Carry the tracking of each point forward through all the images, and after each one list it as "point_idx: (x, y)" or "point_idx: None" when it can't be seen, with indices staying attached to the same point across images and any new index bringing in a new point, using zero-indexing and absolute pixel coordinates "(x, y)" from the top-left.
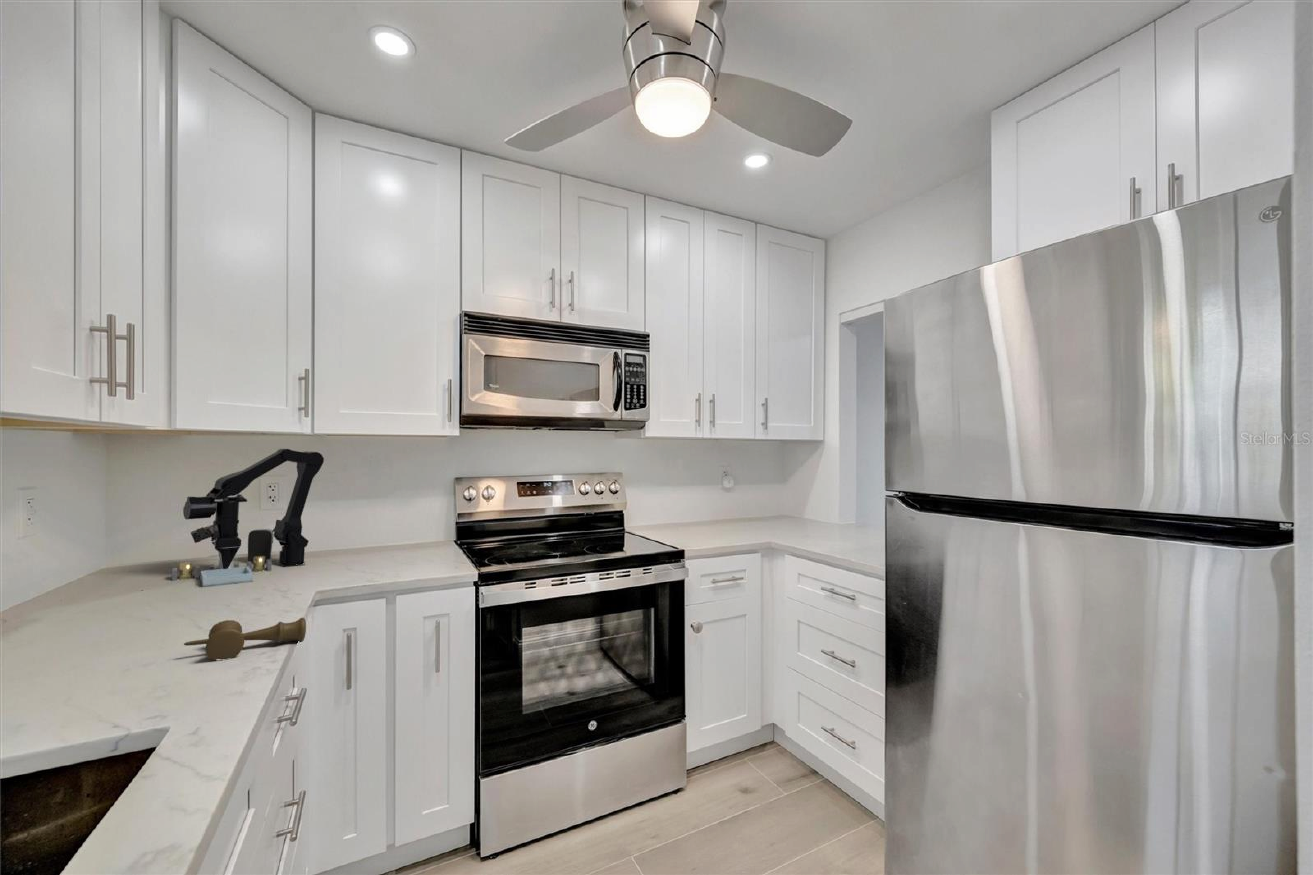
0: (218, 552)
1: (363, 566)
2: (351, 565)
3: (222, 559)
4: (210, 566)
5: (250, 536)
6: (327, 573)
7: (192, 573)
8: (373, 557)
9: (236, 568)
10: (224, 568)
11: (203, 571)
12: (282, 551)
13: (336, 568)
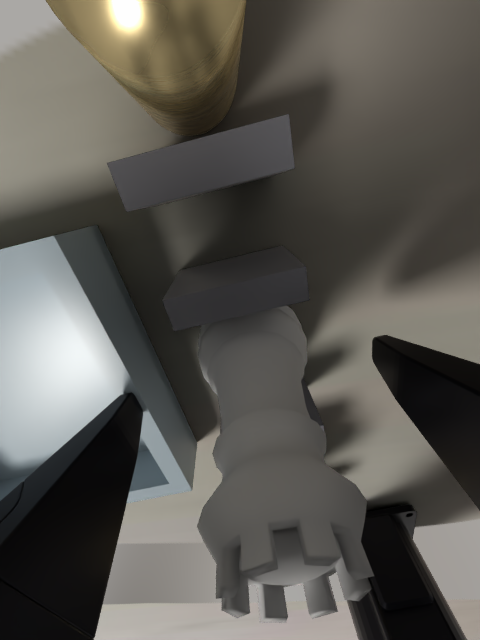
0: (246, 479)
1: (223, 637)
2: (251, 623)
3: (28, 481)
4: (194, 300)
5: None
6: (139, 606)
7: (190, 126)
8: (351, 636)
9: (151, 447)
10: (120, 401)
11: (18, 268)
12: (399, 611)
13: (217, 610)
